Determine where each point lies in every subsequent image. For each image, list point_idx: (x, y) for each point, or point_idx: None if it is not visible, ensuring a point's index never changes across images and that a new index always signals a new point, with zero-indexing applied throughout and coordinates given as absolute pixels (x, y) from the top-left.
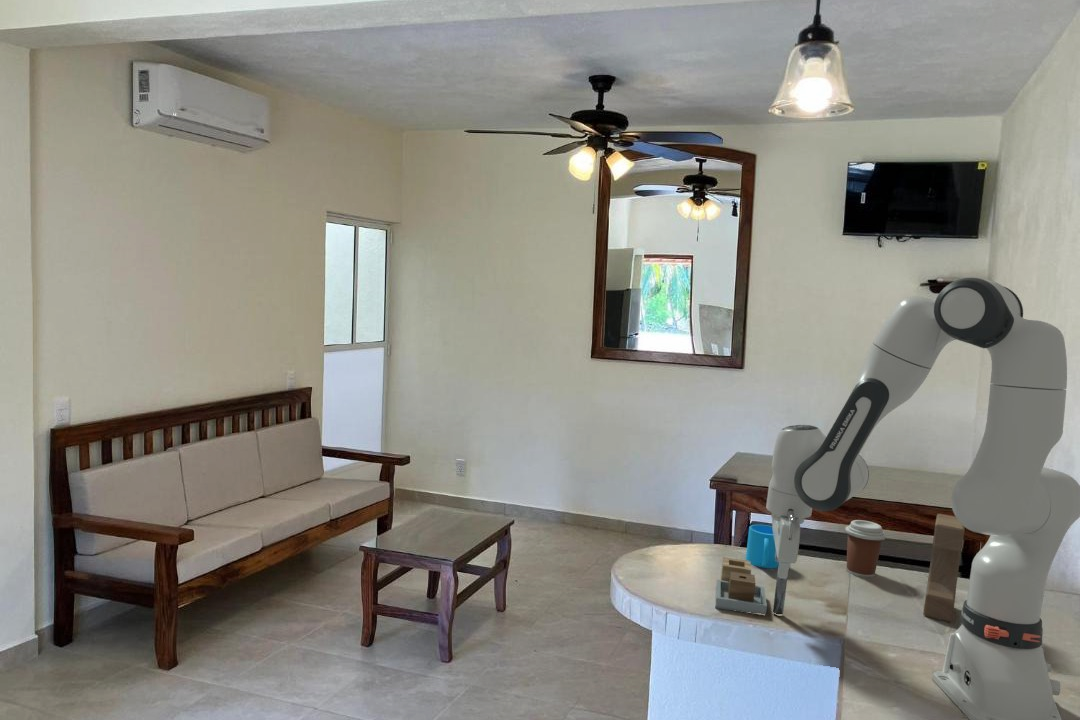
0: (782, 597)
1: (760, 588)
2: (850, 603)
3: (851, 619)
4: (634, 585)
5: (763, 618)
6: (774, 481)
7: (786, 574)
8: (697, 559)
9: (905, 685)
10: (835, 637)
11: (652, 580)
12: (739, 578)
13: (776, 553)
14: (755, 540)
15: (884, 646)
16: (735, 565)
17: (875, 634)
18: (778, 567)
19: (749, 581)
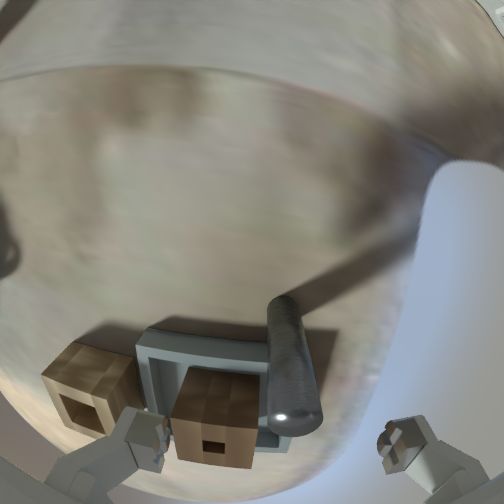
0: (306, 341)
1: (149, 355)
2: (100, 59)
3: (236, 59)
4: (220, 497)
5: (323, 350)
6: None
7: (427, 429)
8: (32, 395)
9: None
10: (410, 157)
11: (181, 482)
12: (230, 454)
13: (159, 472)
14: None
15: (413, 39)
16: (72, 401)
17: (339, 25)
18: (395, 472)
19: (247, 439)
